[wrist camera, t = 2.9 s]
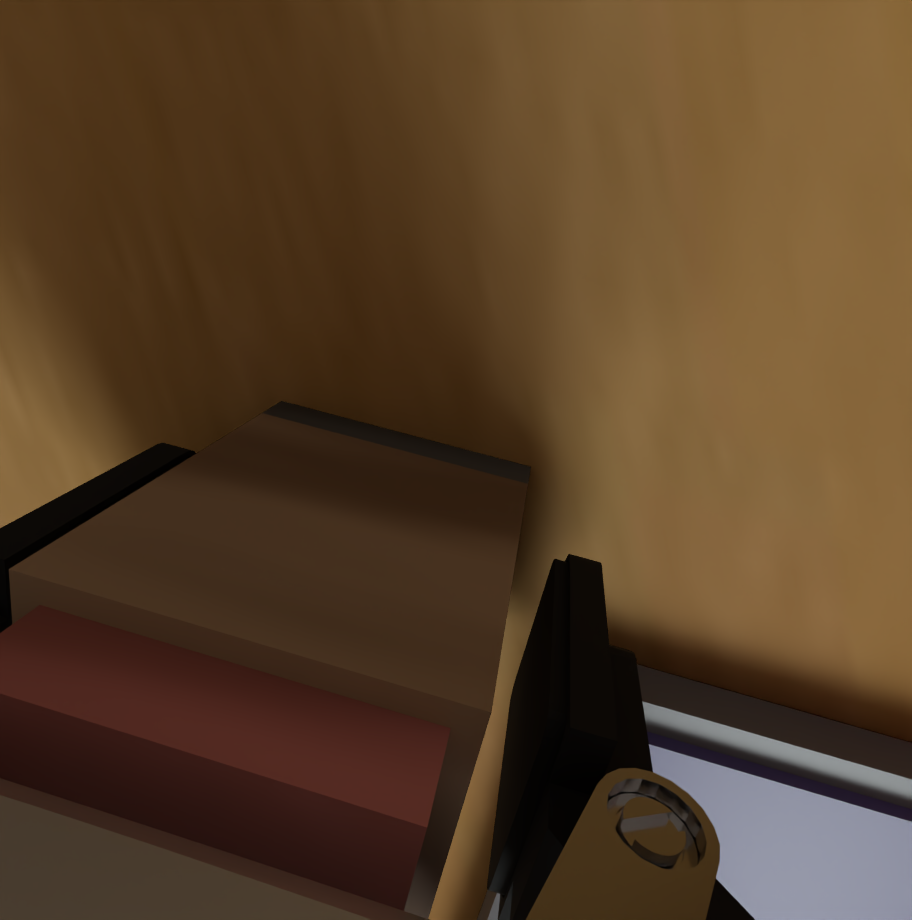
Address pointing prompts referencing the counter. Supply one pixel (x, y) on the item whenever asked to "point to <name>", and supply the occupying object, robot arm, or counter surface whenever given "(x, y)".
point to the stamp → (275, 650)
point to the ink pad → (786, 801)
